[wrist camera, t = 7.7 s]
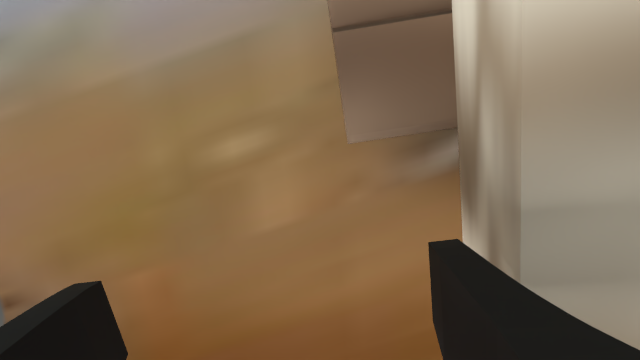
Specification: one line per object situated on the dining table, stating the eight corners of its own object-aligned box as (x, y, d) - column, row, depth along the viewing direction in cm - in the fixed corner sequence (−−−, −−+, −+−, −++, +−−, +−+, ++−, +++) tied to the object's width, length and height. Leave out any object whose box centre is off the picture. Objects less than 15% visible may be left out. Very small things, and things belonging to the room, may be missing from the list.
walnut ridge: (596, 91, 18) (666, 116, 14) (345, 129, 19) (351, 162, 15) (605, -48, 16) (689, -62, 12) (327, -1, 17) (328, 0, 13)
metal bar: (548, 278, 17) (635, 387, 12) (465, 288, 17) (519, 400, 12) (567, -293, 11) (754, -513, 6) (439, -267, 11) (525, -461, 6)
